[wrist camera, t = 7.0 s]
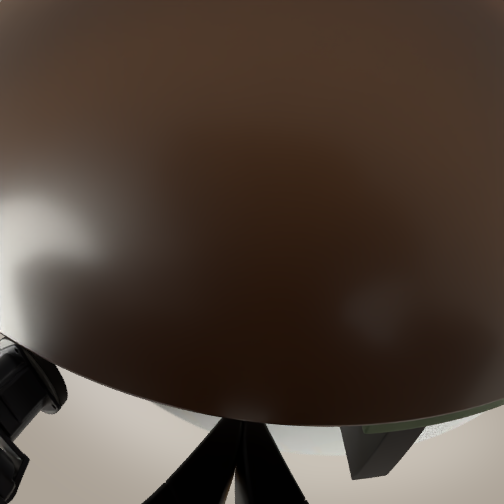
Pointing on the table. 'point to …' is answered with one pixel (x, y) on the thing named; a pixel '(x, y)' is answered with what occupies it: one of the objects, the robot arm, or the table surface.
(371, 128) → the cupboard
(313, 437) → the table surface
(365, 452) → the sliding door
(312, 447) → the table surface
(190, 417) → the table surface
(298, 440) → the table surface
